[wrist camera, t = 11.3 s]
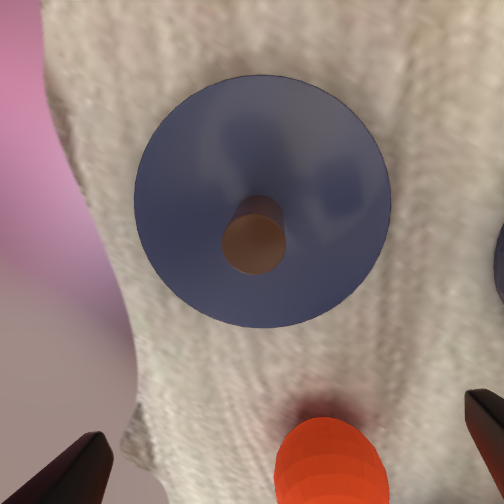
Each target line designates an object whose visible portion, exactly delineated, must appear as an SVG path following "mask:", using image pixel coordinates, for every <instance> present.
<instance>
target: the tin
mask: <svg viewBox="0 0 504 504" xmlns="http://www.w3.org/2000/svg"><path fill="white" fill-rule="evenodd" d="M494 277H495V283H496V287H497V291H498V294H499V296H500V298H501V300H502V302H503V304H504V225H503V227H502V230H501V233H500V235H499V238H498V241H497V246H496V250H495V257H494Z"/></svg>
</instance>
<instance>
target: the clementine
mask: <svg viewBox="0 0 504 504" xmlns="http://www.w3.org/2000/svg"><path fill="white" fill-rule="evenodd" d="M274 484H275V492H276V497H277V501H278V504H389V484H388V479H387V474H386V470H385V468H384V466H383V464H382V462H381V459H380V457H379V455H378V453H377V451H376V449H375V447H374V446H373V445H372V444H371V443H370V442H369V440H368V439H367V438H366V437H365V436H364V435H363V434H362V433H361V432H360V431H359V430H358V429H356V428H354V427H353V426H351V425H349V424H348V423H346V422H344V421H342V420H339V419H336V418H330V417H316V418H312V419H309V420H306V421H304V422H302V423H300V424H298V425H297V426H296V427H295V428H294V429H293V430H292V431H291V432H290V433H289V434H288V435H287V436H286V437H285V439H284V441H283V443H282V445H281V447H280V449H279V451H278V453H277V457H276V464H275V471H274Z"/></svg>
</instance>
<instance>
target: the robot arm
mask: <svg viewBox="0 0 504 504" xmlns="http://www.w3.org/2000/svg"><path fill="white" fill-rule="evenodd" d="M465 422H466V425H467V428H468V430H469V432H470V434H471V436H472V438H473V440H474V442H475V444H476V446H477V448H478V450H479V452H480V454H481V456H482V458H483V460H484V462H485V464H486V466H487V468H488V470H489V472H490V474H491V476H492V477H493V479H494V481H495V483H496V485H497V487H498V489H499V491H500V493H501V495H502V497H503V499H504V399H503V398H502V397H500V396H498V395H496V394H495V393H493V392H491V391H489V390H487V389H474V390H468V391H466V392H465ZM113 461H114V455H113V451H112V449H111V447H110V445H109V443H108V441H107V439H106V437H105V435H104V433H102V432H100V431H97V432H88V433H86V434H84V435H83V436H81V437H80V438H79V439H78V440H77V441H75V442H74V443H73V444H72V445H71V446H70V447H68V448H67V449H66V450H65V451H64V452H62V453H61V454H60V455H59V456H58V457H56V458H55V459H54V460H53V461H52V462H51V463H49V464H48V465H47V466H46V467H45V468H43V469H42V470H41V471H40V472H39V473H37V474H36V475H35V476H34V477H33V478H32V479H30V480H29V481H28V482H27V483H25V484H24V485H23V486H22V487H21V488H20V489H18V490H17V491H16V492H15V493H14V494H12V495H11V496H10V497H9V498H8V499H6V500H5V501H4V502H3V503H2V504H101V503H102V500H103V496H104V493H105V489H106V486H107V482H108V479H109V476H110V472H111V469H112V465H113Z"/></svg>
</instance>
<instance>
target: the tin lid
mask: <svg viewBox="0 0 504 504" xmlns="http://www.w3.org/2000/svg"><path fill="white" fill-rule="evenodd" d="M134 210H135V219H136V225H137V230H138V234H139V237H140V240H141V243H142V246H143V249H144V251H145V253H146V255H147V257H148V260H149V261H150V263H151V265H152V266H153V268H154V269H155V271H156V273H157V274H158V275H159V277H160V278H161V279H162V280H163V282H164V283H165V284H166V285H167V286H168V287H169V288H170V289H171V290H172V291H173V292H174V293H175V294H176V295H177V296H178V297H179V298H180V299H182V300H183V301H184V302H185V303H187V304H188V305H190V306H191V307H193V308H194V309H196V310H198V311H199V312H201V313H203V314H205V315H207V316H209V317H211V318H214V319H216V320H219V321H222V322H225V323H228V324H232V325H237V326H241V327H250V328H277V327H285V326H290V325H294V324H298V323H302V322H304V321H307V320H310V319H313V318H315V317H317V316H319V315H321V314H323V313H325V312H327V311H329V310H330V309H332V308H333V307H335V306H336V305H338V304H340V303H341V302H342V301H343V300H344V299H346V298H347V297H348V296H349V295H350V294H352V293H353V292H354V290H355V289H356V288H357V287H358V286H359V285H360V284H361V283H362V282H363V281H364V279H365V278H366V276H367V275H368V274H369V272H370V271H371V269H372V268H373V266H374V264H375V262H376V260H377V259H378V257H379V255H380V252H381V250H382V247H383V244H384V242H385V239H386V235H387V231H388V227H389V222H390V212H391V191H390V184H389V178H388V172H387V169H386V166H385V163H384V160H383V157H382V154H381V152H380V150H379V148H378V146H377V144H376V142H375V140H374V138H373V136H372V135H371V134H370V132H369V131H368V129H367V128H366V126H365V125H364V124H363V122H362V121H361V120H360V119H359V118H358V117H357V116H356V115H355V114H354V113H353V112H352V111H351V110H350V109H349V108H348V107H347V106H346V105H344V104H343V103H342V102H341V101H339V100H338V99H337V98H336V97H334V96H332V95H331V94H329V93H327V92H325V91H324V90H322V89H320V88H318V87H316V86H313V85H311V84H308V83H306V82H303V81H300V80H296V79H292V78H287V77H283V76H273V75H250V76H241V77H236V78H232V79H227V80H223V81H221V82H218V83H216V84H213V85H210V86H208V87H206V88H204V89H202V90H200V91H199V92H197V93H195V94H193V95H191V96H190V97H189V98H187V99H186V100H185V101H183V102H182V103H181V104H179V105H178V106H177V107H176V108H175V109H174V110H173V111H172V112H171V113H170V114H169V115H168V116H167V117H166V118H165V119H164V120H163V121H162V123H161V124H160V125H159V127H158V128H157V130H156V131H155V132H154V134H153V135H152V137H151V139H150V141H149V143H148V145H147V147H146V148H145V150H144V153H143V156H142V159H141V161H140V164H139V168H138V172H137V177H136V181H135V192H134Z"/></svg>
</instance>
